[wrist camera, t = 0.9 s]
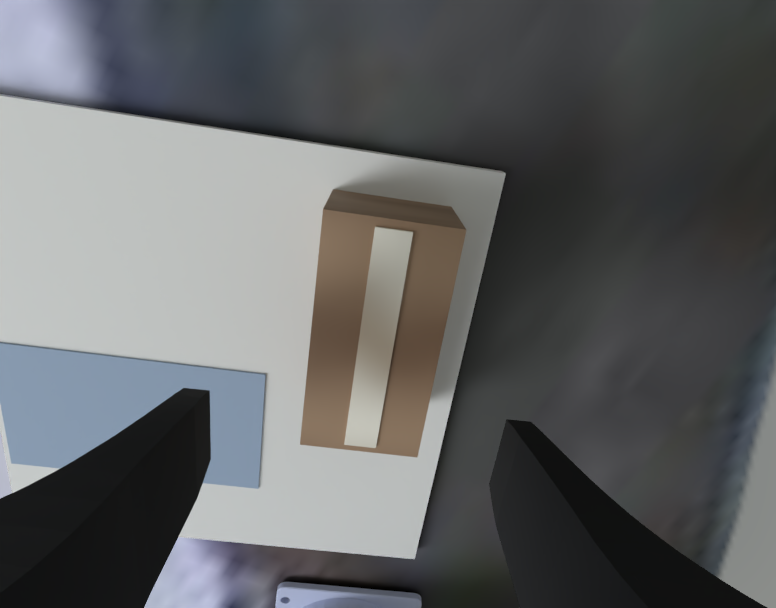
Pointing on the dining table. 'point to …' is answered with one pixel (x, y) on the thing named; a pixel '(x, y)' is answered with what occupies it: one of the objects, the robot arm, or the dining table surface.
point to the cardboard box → (378, 321)
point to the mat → (205, 311)
